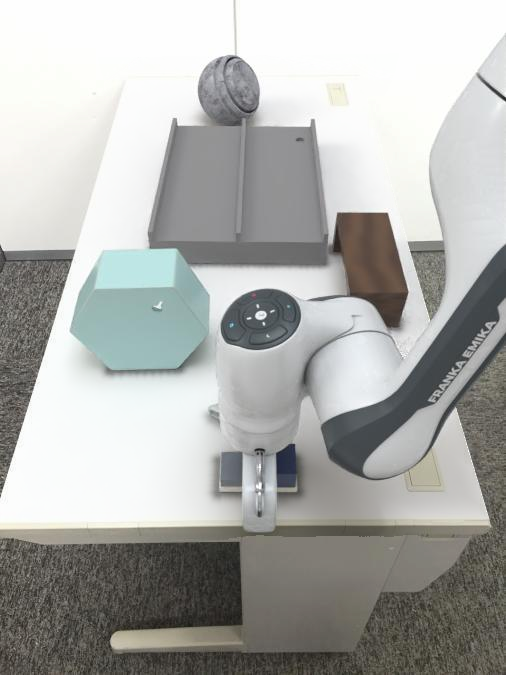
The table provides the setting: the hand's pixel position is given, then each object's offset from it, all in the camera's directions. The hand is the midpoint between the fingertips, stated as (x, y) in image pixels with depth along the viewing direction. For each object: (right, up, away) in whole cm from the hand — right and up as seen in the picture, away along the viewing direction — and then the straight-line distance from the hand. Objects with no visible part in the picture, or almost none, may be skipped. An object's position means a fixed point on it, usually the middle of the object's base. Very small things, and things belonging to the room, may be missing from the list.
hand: (258, 470), depth 69 cm
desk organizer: (-3, +46, +41) cm, 62 cm away
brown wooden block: (+19, +27, +25) cm, 41 cm away
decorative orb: (-6, +70, +62) cm, 94 cm away
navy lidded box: (0, -1, +1) cm, 2 cm away
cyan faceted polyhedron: (-17, +15, +15) cm, 27 cm away
